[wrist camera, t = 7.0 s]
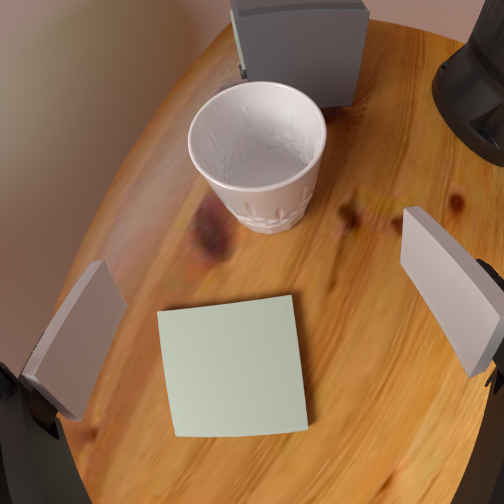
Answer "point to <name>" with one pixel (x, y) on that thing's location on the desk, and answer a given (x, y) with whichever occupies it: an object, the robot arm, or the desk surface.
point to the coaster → (233, 369)
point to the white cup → (260, 152)
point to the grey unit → (303, 45)
